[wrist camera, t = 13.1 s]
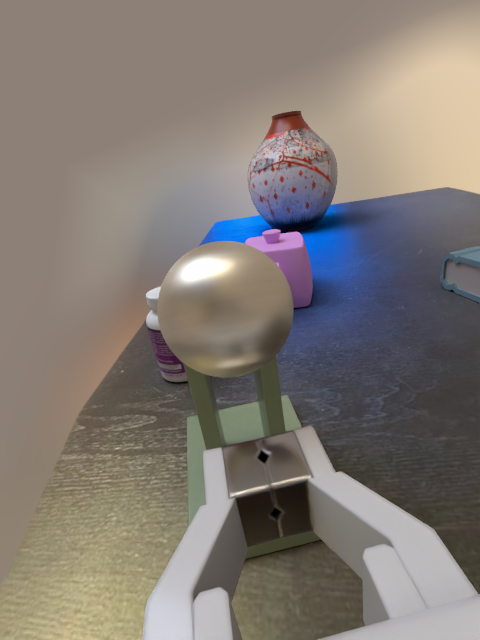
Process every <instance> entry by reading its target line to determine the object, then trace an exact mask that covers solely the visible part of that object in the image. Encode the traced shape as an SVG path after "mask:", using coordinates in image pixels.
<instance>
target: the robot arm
mask: <svg viewBox="0 0 480 640" xmlns="http://www.w3.org/2000/svg"><path fill="white" fill-rule="evenodd" d="M203 465H204V480H205V495H206V505H203V506H200V508H199V509H198V511H197V513H196V515H195V517H194V518H193V520H192V522H191V524H190V526H189V527H188V529H187V531H186V533H185V535H184V536H183V538H182V540H181V542H180V543H179V545H178V547H177V549H176V551H175V552H174V554H173V556H172V558H171V560H170V561H169V563H168V565H167V567H166V569H165V570H164V572H163V574H162V576H161V578H160V579H159V581H158V583H157V585H156V587H155V588H154V590H153V592H152V594H151V595H150V597H149V599H148V601H147V603H146V607H145V618H144V629H143V640H242V637H241V634H240V630H239V627H238V624H237V621H236V617H235V614H234V611H233V608H232V604H231V602H232V599H233V596H234V593H235V589H236V586H237V583H238V580H239V577H240V574H241V571H242V567H243V564H244V561H245V558H246V555H247V552H248V547H251V546H254V545H257V544H261V543H264V542H268V541H271V540H275V539H278V538H282V537H287V536H291V535H295V534H300V533H304V532H309V531H313V530H314V533H315V534H316V535H317V536H318V537H319V538H320V539H321V540H322V541H323V542H324V543H325V544H326V545H327V546H328V547H330V548H331V549H332V550H333V551H334V552H335V553H336V554H337V555H338V556H339V557H340V558H341V559H342V560H343V561H344V562H345V563H346V564H347V565H348V566H349V567H350V568H351V569H352V570H353V571H354V572H355V573H356V574H357V575H358V576H359V577H361V578H362V579H363V621H364V624H365V626H364V627H361V628H357V629H353V630H350V631H346V632H343V633H339V634H335V635H332V636H328V637H325V638H321V639H318V640H480V594H479V595H478V593H477V592H476V590H475V589H474V587H473V586H472V584H471V583H470V581H469V580H468V579H467V577H466V576H465V574H464V573H463V571H462V570H461V568H460V567H459V565H458V564H457V563H456V561H455V560H454V558H453V557H452V555H451V554H450V552H449V551H448V549H447V548H446V547H445V545H444V544H443V542H442V541H441V539H440V538H439V536H438V535H437V533H436V532H435V531H434V529H433V528H431V527H429V526H428V525H426V524H425V523H423V522H421V521H420V520H418V519H417V518H415V517H413V516H412V515H410V514H409V513H407V512H405V511H404V510H402V509H401V508H399V507H397V506H396V505H394V504H393V503H391V502H389V501H388V500H386V499H385V498H383V497H382V496H380V495H378V494H377V493H375V492H374V491H372V490H370V489H369V488H367V487H366V486H364V485H362V484H361V483H359V482H358V481H356V480H354V479H353V478H351V477H350V476H348V475H346V474H345V473H343V472H342V471H341V472H335V470H334V468H333V466H332V464H331V462H330V460H329V458H328V456H327V454H326V452H325V450H324V448H323V446H322V444H321V442H320V440H319V438H318V436H317V434H316V432H315V430H314V428H313V427H312V426H307V427H303V428H299V429H295V430H293V431H292V430H291V431H287V432H283V433H279V434H275V435H271V436H267V437H263V438H259V439H255V440H250V441H246V442H241V443H236V444H231V445H227V446H222V447H219V448H214V449H210V450H205V451H204V452H203Z"/></svg>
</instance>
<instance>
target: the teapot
mask: <svg viewBox="0 0 480 640" xmlns="http://www.w3.org/2000/svg"><path fill="white" fill-rule="evenodd" d="M280 232H281V230H278V229H271V230H267V231H264V232H263V233H262V234H263V236H259V237H252V238H249V239H247V240H246V242H245V244H246V245H249V246H252V247H254V248H256V249H258V250H260V251H262V252H263V253H264V254H266V255H267V256H269V257H270V258H271V259H272V260H273V261H274V262H275V263H276V264H277V265H278V267H279V268H280V269H281V270H282V272H283V274H284V275H285V277H286V279H287V281H288V284H289V286H290V289H291V293H292V297H293V307H294V308H298V307H305V306H308V305H309V304H310V302H311V297H312V289H313V282H312V273H311V267H310V262H309V257H308V253H307V250H306V246H305V243H304V240H303V237H302V235H301V234H300V233H299V232H289V233H281V234H280Z"/></svg>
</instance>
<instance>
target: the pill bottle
mask: <svg viewBox="0 0 480 640" xmlns="http://www.w3.org/2000/svg"><path fill="white" fill-rule="evenodd" d="M160 289H161V287H158V288H155V289H153V290H151V291H149V292H148V293H147V294H146V299H147V304H148V307H149V308H150V309H151V311H150V312H149V314H148V316H147V318H146V324H147V328H148V331H149V335H150V338H151V341H152V345H153V348H154V351H155V354H156V358H157V361H158V364H159V368H160V371H161V374H162V376H163V377H164V378H165V379H166V380H168V381H171V382H184V381H188V379H187V376H186V372H185V368H184V365H183V362H182V361H180V360H179V359H178V358H177V357H176V356H175V355H174V353H173V352H172V351H171V350H170V348H169V347H168V345H167V343H166V342H165V340H164V338H163V335H162V333H161V330H160V326H159V322H158V315H157V304H158V297H159V292H160Z"/></svg>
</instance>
